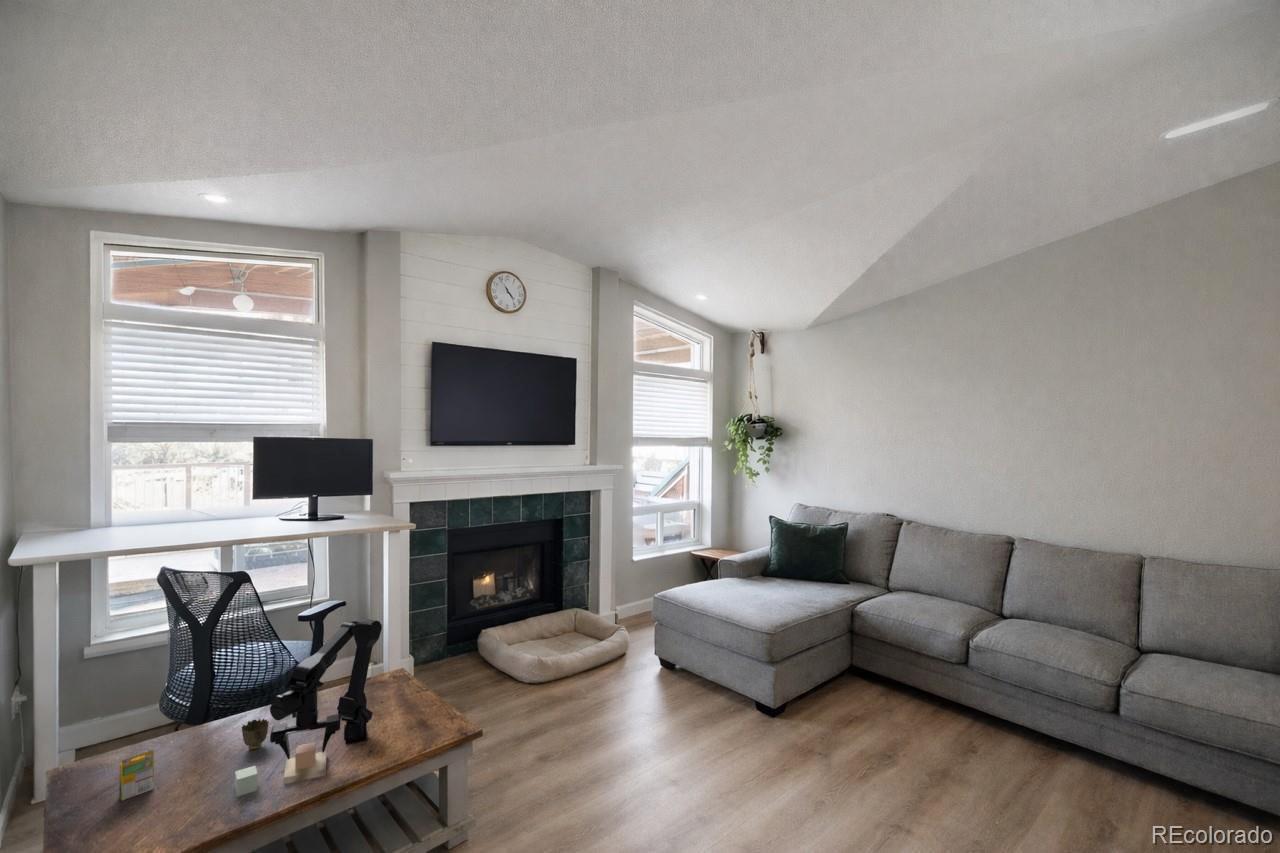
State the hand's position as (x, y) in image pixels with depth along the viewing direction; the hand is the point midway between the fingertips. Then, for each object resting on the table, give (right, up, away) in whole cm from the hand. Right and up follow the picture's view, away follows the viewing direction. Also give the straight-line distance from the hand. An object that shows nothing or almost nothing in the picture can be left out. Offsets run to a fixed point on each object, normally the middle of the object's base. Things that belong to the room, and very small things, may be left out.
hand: (306, 755), depth 185 cm
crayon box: (-42, -4, -13) cm, 44 cm away
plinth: (0, -5, 0) cm, 5 cm away
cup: (-23, -4, +11) cm, 26 cm away
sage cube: (-12, -5, -10) cm, 16 cm away
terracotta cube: (0, -3, 0) cm, 3 cm away
